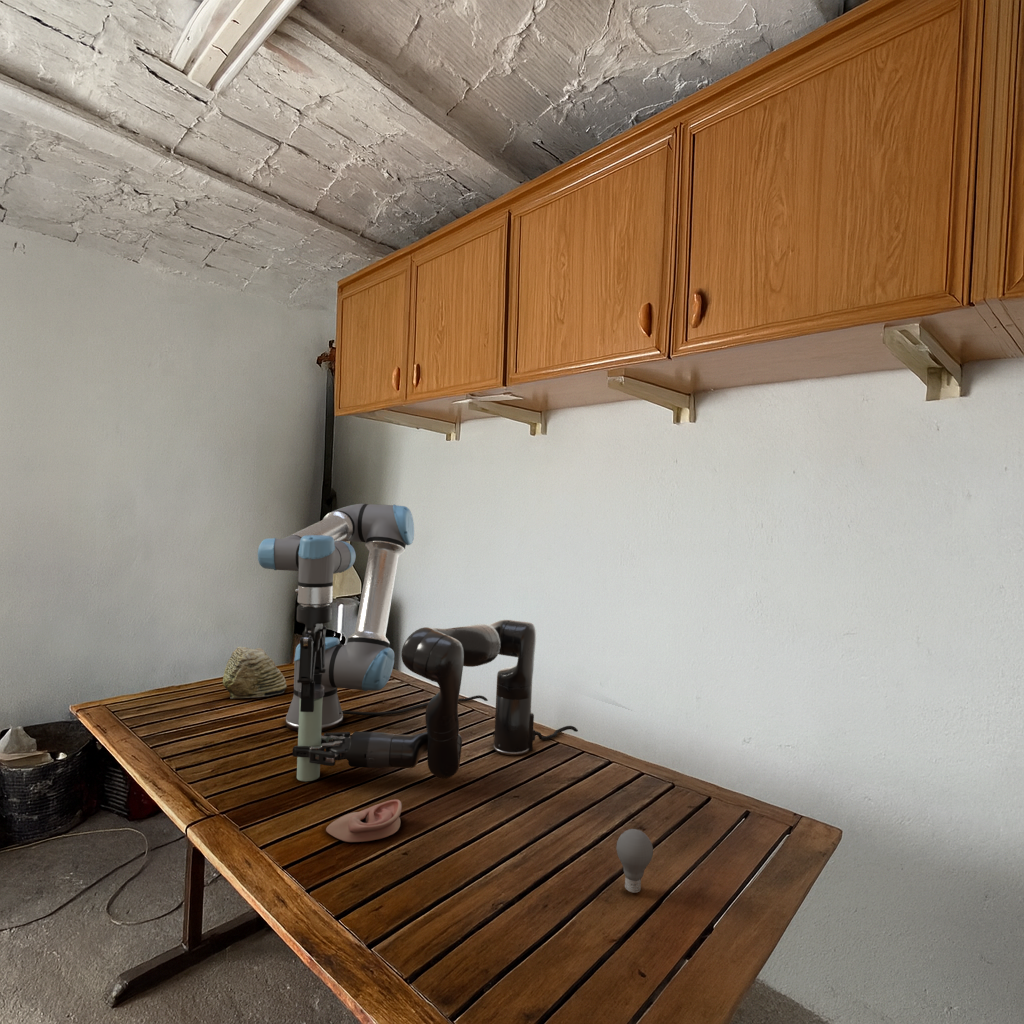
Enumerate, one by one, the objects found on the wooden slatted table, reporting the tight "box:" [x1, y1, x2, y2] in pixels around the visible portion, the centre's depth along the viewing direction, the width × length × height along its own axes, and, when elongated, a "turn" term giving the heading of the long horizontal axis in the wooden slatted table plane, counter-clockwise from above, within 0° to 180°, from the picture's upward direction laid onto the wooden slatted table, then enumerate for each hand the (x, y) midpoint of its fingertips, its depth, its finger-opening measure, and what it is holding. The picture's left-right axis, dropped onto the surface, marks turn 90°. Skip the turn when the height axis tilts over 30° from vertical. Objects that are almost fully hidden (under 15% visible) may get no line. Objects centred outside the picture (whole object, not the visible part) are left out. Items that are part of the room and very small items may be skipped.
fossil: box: [222, 646, 288, 699], centre depth 198 cm, size 9×18×15 cm, turn 132°
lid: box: [298, 684, 325, 699], centre depth 143 cm, size 6×6×2 cm
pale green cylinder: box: [296, 697, 323, 782], centre depth 143 cm, size 5×5×20 cm
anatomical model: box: [325, 799, 403, 843], centre depth 122 cm, size 13×4×12 cm
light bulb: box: [615, 828, 654, 894], centre depth 106 cm, size 6×6×10 cm
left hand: (310, 706), depth 143 cm, fingers closed on lid, 5 cm apart
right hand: (297, 746), depth 143 cm, fingers closed on pale green cylinder, 5 cm apart
